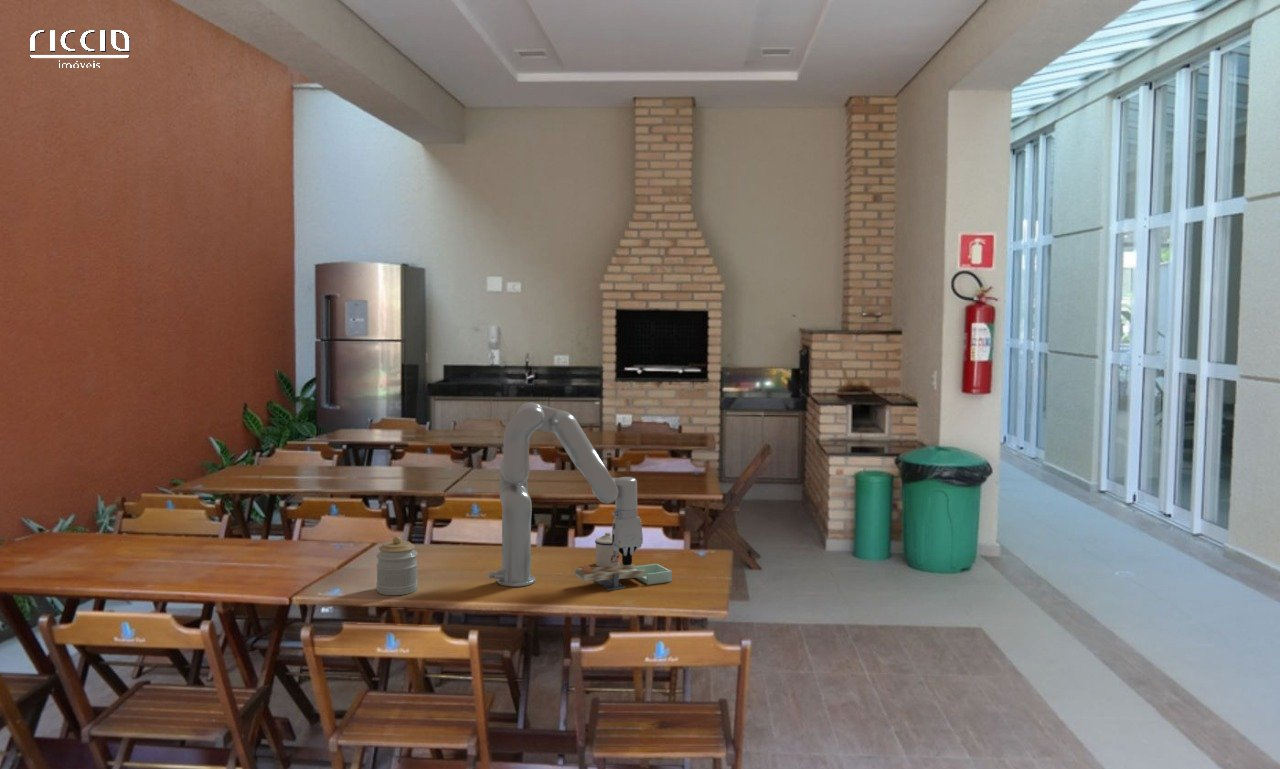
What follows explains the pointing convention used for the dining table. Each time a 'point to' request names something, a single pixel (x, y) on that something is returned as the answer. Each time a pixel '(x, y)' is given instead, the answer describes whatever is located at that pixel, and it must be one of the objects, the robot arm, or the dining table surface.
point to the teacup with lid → (606, 551)
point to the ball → (586, 569)
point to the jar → (397, 568)
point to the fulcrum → (611, 583)
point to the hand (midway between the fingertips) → (627, 565)
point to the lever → (609, 573)
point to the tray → (655, 574)
